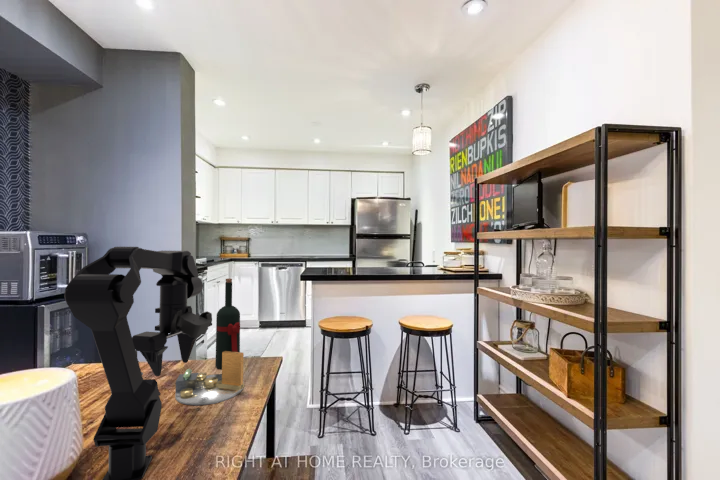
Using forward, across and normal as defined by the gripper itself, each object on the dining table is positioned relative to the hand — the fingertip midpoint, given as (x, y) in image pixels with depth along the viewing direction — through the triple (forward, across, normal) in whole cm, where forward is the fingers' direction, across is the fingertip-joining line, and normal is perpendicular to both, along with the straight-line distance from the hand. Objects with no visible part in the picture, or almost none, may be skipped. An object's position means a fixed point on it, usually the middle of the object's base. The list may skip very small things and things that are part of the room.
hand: (172, 368), depth 78 cm
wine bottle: (+12, +35, +7) cm, 38 cm away
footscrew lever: (+11, +17, -2) cm, 21 cm away
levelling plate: (+12, +17, +2) cm, 21 cm away
